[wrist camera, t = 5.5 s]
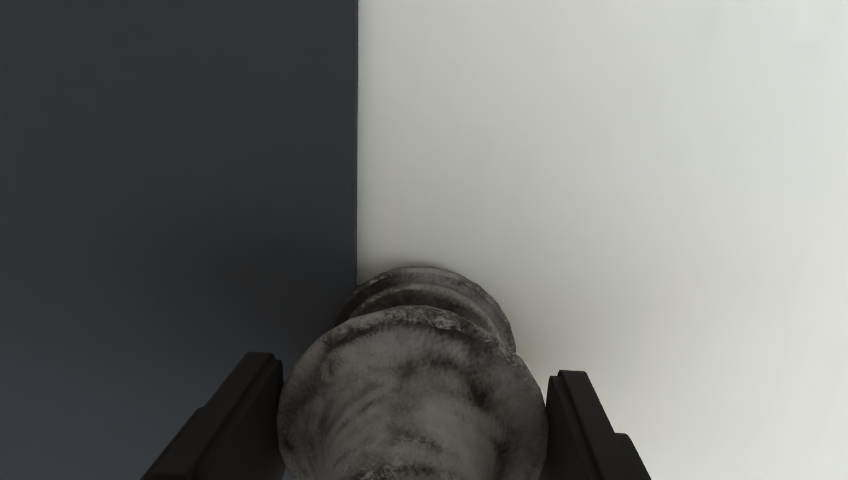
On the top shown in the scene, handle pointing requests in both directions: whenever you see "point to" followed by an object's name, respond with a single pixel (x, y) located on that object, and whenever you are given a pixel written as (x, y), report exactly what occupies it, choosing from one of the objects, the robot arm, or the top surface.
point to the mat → (164, 213)
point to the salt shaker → (413, 389)
